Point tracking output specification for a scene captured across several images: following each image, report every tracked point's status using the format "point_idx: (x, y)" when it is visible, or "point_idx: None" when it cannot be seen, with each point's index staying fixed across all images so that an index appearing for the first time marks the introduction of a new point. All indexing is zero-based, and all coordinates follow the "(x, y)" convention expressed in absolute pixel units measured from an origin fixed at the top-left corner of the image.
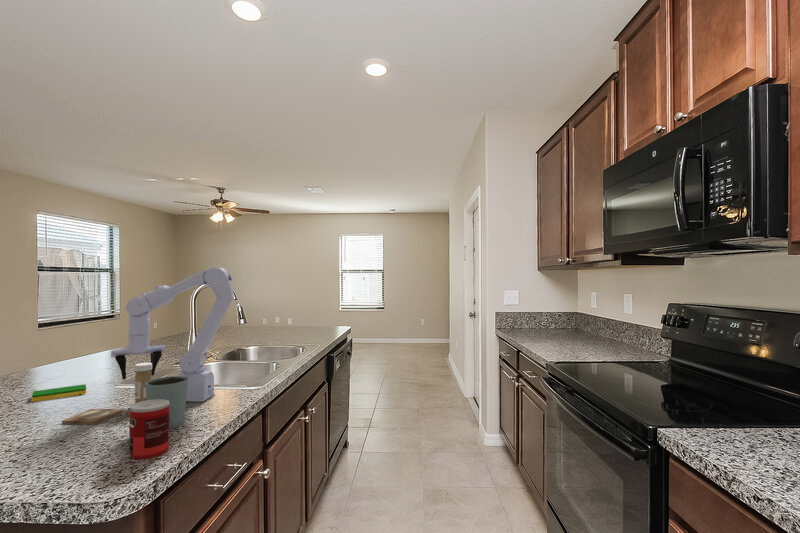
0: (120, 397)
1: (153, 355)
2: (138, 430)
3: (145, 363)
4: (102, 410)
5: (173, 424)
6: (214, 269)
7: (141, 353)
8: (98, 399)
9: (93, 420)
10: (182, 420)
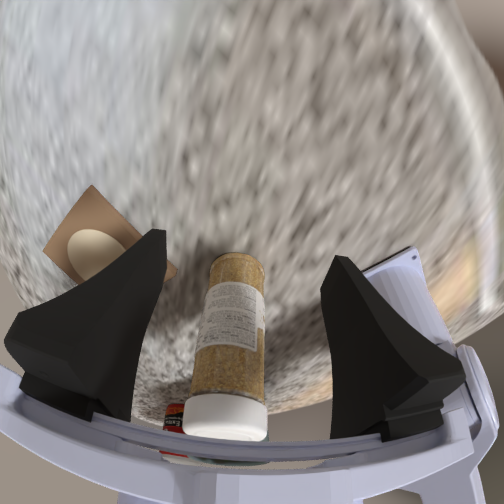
0: (220, 32)
1: (335, 437)
2: None
3: (235, 437)
4: (116, 242)
5: None
6: None
7: (265, 450)
8: (135, 2)
9: None
10: None
